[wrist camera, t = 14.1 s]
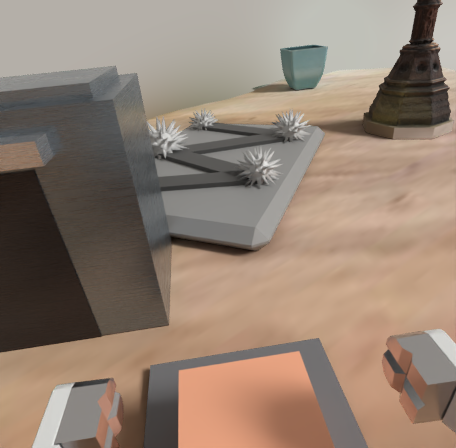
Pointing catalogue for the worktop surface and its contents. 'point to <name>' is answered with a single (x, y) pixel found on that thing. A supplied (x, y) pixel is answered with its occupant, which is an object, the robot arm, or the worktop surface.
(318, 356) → the coaster
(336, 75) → the worktop surface
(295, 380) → the tall salmon pillar
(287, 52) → the flower pot
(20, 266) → the dispenser
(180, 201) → the spiky succulent planter
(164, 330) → the worktop surface
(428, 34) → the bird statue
